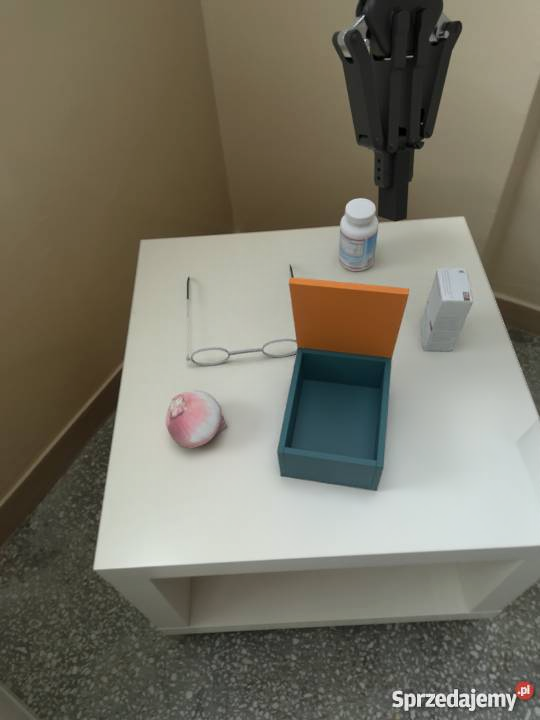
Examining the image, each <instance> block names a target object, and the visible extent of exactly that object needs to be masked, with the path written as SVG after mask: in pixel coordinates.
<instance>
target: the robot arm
mask: <svg viewBox="0 0 540 720" xmlns="http://www.w3.org/2000/svg"><path fill="white" fill-rule="evenodd" d="M355 7H356V8H355V18H354V19H353V21H351V22H350V24H349V25H348V26H347V27H346V28H344V30H337V31H335V32H334V33H333V34H332V37H331V43H332V46H333V47H334V49H335V51H336V54H337V56H338V57H339V59H340V61H341V64H342V69H343V75H344V80H345V86H346V92H347V97H348V102H349V108H350V113H351V118H352V125H353V130H354V136H355V141H356V145H358V146H359V147H362V148H363V147H364V148H367V149H368V150H369V151H370V150H371V151H372V152H373V155H374V162H373V163H374V165H373V168H374V169H373V183H374V185H375V187H378V193H377V195H378V196H377V217H379V218H382V219H385V220H389V221H392V222H395V223H396V222H400V221H403V220H407V219H408V201H409V183H411V182H412V181H413V178H414V167H415V150H421V149H423V147H424V145H425V141H423V140H424V139H426V140H427V139H430V138H432V136H433V134H434V130H435V126H436V122H437V118H438V113H439V109H440V105H441V100H442V96H443V91H444V87H445V84H446V80H447V75H448V71H449V66H450V62H451V58H452V54H453V50H454V48H455V46H456V44H457V42H458V40H459V38H460V36H461V34H462V31H463V23H462V21H460V20H451V19H450V18H449V17H448V16H447V15H446V14H445V13H444V12H443V11H444V0H358V2H357V5H356V6H355ZM368 47H369V48H368Z"/></svg>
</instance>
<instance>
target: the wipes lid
mask: <svg viewBox="0 0 540 720" xmlns="http://www.w3.org/2000/svg"><path fill="white" fill-rule="evenodd" d="M288 287H289V288H288V289H289V295H290V300H291V301H290V302H291V310H292V318H293V326H294V333H295V340H296V341H297V343H296V347H297V348H298V347H300V348H309V349H317V350H326V351H335V352H344V353H352V354H361V355H370V356H379V357H387V358H392V359H393V356H394V352H395V348H396V345H397V341H398V337H399V334H400V329H401V327H402V323H403V322H402V321H403V318H404V314H405V311H406V306H407V303H408V299H409V295H410V288H408V287H398V286H388V285H377V284H376V285H375V284H365V283H355V282H343V281H332V280H322V279H311V278H300V277H294V278H292V277H291V276H290V277H289V280H288Z"/></svg>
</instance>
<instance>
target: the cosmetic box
mask: <svg viewBox="0 0 540 720" xmlns="http://www.w3.org/2000/svg"><path fill="white" fill-rule="evenodd" d="M430 287H431V288H430V290H429V294H428V296H427V300H426V303H425V306H424V310H423V313H422V315H421V319H420V329H421V330H420V332H421V341H422V347H423V350H424V351H426V352H427V351H428V352H452V351H453V349H454V347H455V344H456V342H457V339H458V337H459V335H460V333H461V331H462V328H463V326H464V324H465V322H466V320H467V317H468V315H469V313H470V310H471V309H472V306H473V303H474V296H473V292H472V282H471V279H470V276H469V270H468V268H467V267H444V268H443V267H441V268H440V267H439V268H437V269H436V272H435V274H434V278H433V281H432V284H431V286H430Z"/></svg>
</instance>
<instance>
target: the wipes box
mask: <svg viewBox="0 0 540 720" xmlns="http://www.w3.org/2000/svg"><path fill="white" fill-rule="evenodd" d="M296 350H297V353H295V359H294V364H293V369H292V373H291V380H290V383H289V390H288V394H287V399H286V404H285V409H284V415H283V421H282V425H281V429H280V436H279V440H278V446H277V450H276V453H277V460H278V466H279V468H278V469H279V475H280V477H284V478H291V479H296V480H303V481H310V482H317V483H323V484H328V485H335V486H343V487H347V488H356V489H362V490H368V491H373V492H374V491H375V492H377V491H378V489H379V485H380V481H381V478H382V474H383V471H384V464H385V452H386V451H385V450H386V441H387V439H386V438H387V427H388V426H387V424H388V415H389V414H388V413H389V402H390V401H389V400H390V388H391V387H390V386H391V374H392V372H391V371H392V361H393V357H392V358H387V357H379V356H370V355H361V354H352V353H344V352H335V351H326V350H317V349H309V348H300V347H297V349H296Z"/></svg>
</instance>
